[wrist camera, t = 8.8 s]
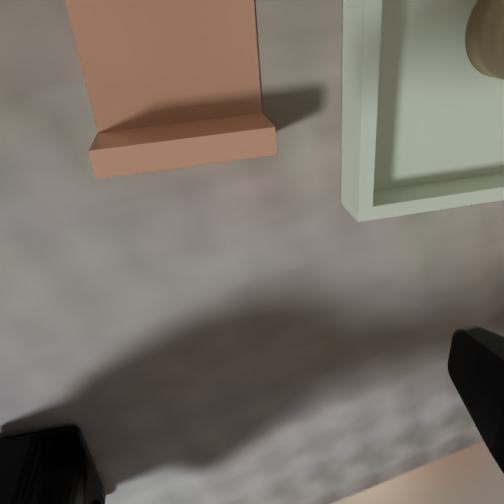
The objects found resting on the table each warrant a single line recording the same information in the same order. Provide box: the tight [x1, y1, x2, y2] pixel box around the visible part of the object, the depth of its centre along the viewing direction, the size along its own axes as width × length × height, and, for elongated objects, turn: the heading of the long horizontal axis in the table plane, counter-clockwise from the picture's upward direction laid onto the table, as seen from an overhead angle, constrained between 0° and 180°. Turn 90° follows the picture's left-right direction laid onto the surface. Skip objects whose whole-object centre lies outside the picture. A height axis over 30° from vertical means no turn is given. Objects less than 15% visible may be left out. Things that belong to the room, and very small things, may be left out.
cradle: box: [65, 0, 277, 179], centre depth 15 cm, size 8×6×3 cm
